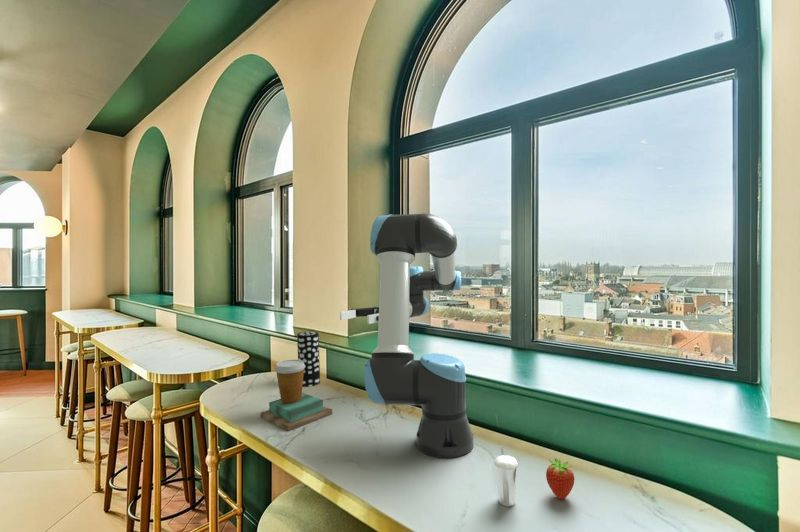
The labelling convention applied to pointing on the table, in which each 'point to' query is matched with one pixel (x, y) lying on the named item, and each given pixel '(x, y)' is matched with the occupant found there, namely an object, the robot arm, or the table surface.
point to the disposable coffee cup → (290, 380)
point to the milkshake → (506, 478)
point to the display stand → (296, 412)
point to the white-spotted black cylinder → (309, 357)
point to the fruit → (560, 479)
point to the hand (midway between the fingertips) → (353, 317)
